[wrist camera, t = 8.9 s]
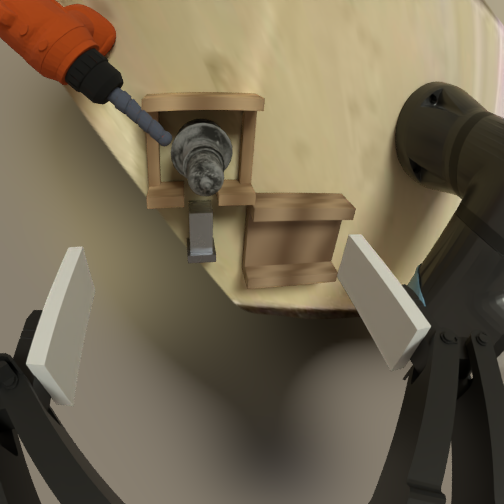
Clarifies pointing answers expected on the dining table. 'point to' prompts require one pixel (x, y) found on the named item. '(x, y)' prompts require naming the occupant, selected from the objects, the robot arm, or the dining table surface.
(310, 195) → the rack
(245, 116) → the socket frame
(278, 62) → the dining table surface
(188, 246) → the bar
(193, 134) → the chess piece
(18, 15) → the toy drill
